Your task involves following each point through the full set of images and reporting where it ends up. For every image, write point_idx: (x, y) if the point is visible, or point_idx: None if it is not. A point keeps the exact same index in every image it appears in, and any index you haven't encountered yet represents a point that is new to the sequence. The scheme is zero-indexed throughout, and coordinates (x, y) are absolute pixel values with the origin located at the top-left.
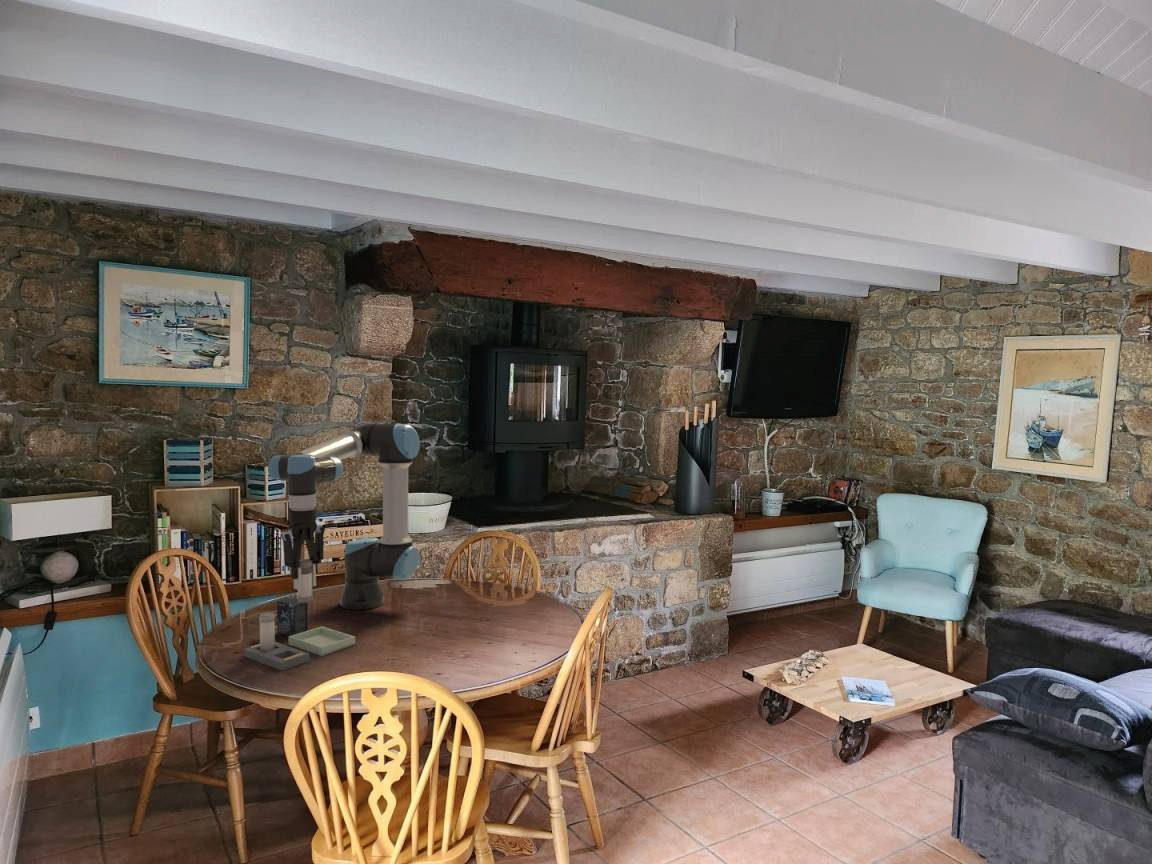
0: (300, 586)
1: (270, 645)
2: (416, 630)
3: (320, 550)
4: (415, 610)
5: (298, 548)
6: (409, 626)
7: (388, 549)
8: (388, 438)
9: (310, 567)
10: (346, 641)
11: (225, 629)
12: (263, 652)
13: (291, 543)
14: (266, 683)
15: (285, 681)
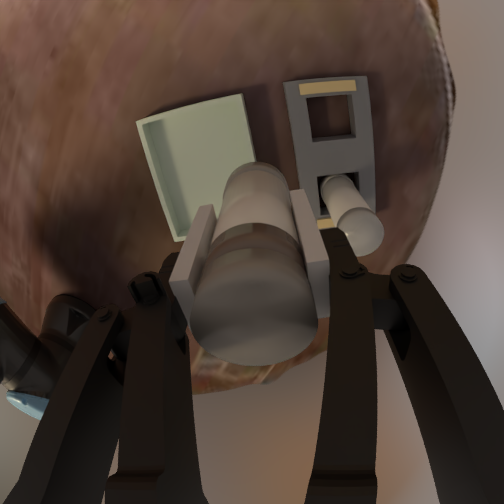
0: (300, 197)
1: (343, 181)
2: (24, 135)
3: (89, 365)
4: (12, 240)
5: (365, 425)
6: (28, 166)
7: None
8: None
9: (224, 251)
10: (163, 112)
11: (309, 351)
12: (361, 172)
13: (482, 469)
14: (412, 41)
15: (380, 18)
